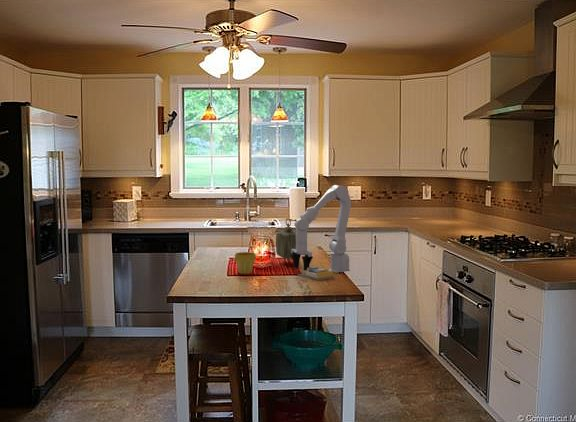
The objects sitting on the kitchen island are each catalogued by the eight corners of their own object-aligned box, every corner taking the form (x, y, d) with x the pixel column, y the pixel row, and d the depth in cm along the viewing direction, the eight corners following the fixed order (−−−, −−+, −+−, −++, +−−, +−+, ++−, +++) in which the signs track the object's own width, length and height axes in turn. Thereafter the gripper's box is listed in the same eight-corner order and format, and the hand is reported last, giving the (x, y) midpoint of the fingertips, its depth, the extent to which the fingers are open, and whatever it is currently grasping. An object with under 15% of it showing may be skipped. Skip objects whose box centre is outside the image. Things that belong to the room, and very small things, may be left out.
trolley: (317, 272, 266) (317, 266, 266) (328, 275, 259) (328, 268, 259) (307, 274, 262) (307, 267, 262) (318, 277, 255) (318, 270, 255)
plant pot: (255, 270, 277) (255, 251, 276) (255, 274, 267) (255, 255, 266) (235, 270, 277) (235, 251, 276) (234, 274, 267) (234, 255, 266)
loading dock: (312, 272, 272) (312, 265, 272) (333, 277, 260) (333, 270, 259) (297, 274, 266) (297, 267, 266) (317, 280, 254) (317, 273, 253)
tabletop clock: (300, 265, 292) (300, 219, 289) (284, 266, 288) (284, 220, 286) (290, 260, 305) (290, 217, 303) (275, 261, 302) (275, 217, 299)
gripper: (286, 241, 274) (286, 267, 275) (304, 244, 262) (304, 272, 263) (297, 240, 278) (297, 265, 279) (315, 243, 266) (315, 270, 268)
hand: (301, 268), depth 271 cm, fingers open, 7 cm apart
